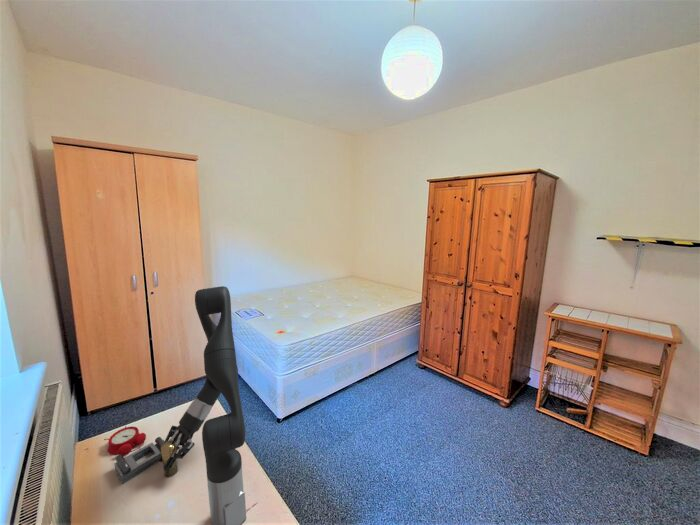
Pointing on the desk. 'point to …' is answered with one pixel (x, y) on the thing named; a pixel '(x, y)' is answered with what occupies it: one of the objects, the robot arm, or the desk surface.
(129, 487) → the desk surface
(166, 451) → the bronze pin
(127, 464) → the grey roller frame base
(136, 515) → the desk surface
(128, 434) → the alarm clock
